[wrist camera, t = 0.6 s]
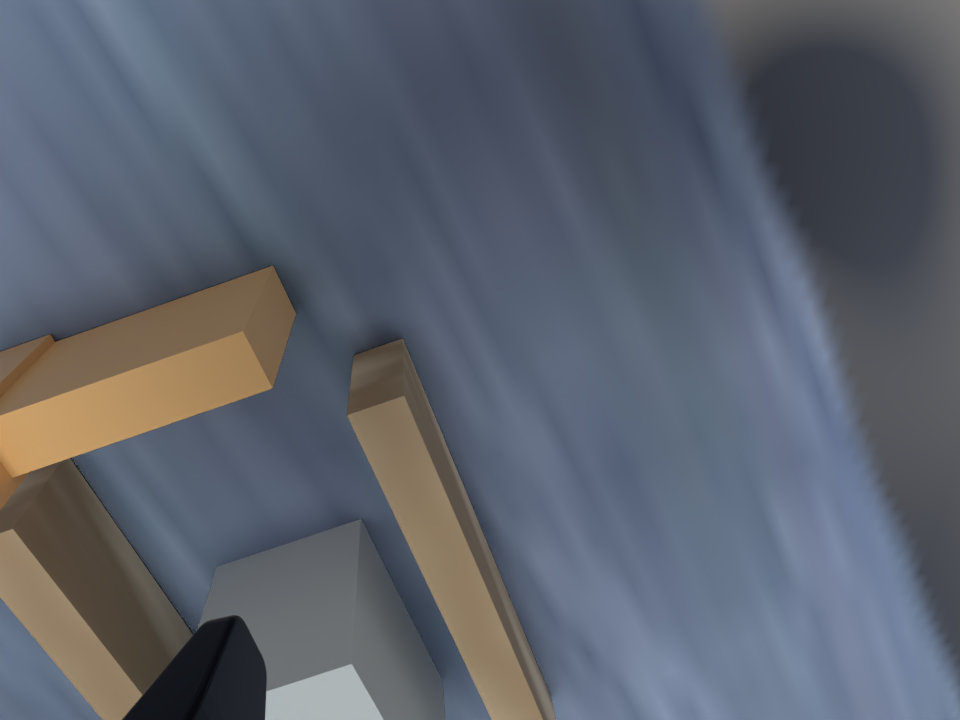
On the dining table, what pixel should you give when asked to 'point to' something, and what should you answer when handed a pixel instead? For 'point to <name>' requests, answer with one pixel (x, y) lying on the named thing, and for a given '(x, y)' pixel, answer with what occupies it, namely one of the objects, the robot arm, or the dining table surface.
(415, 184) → the dining table surface
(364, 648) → the plug block
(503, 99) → the dining table surface
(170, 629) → the channel
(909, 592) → the dining table surface
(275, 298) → the bar
